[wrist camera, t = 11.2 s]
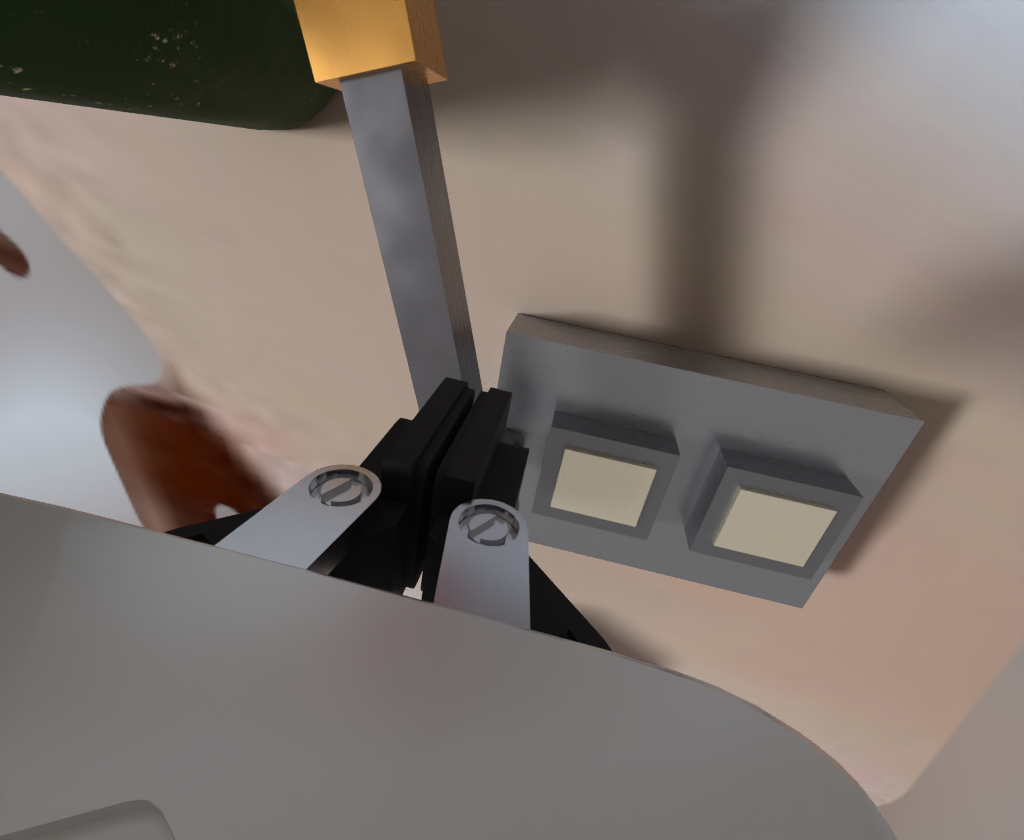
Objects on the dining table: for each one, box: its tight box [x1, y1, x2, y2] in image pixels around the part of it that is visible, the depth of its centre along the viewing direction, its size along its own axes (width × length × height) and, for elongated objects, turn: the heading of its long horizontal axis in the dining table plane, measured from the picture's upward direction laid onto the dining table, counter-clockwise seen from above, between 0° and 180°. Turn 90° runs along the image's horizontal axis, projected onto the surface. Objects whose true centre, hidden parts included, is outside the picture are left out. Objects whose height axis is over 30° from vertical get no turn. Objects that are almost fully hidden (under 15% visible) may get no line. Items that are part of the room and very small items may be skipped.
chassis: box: [497, 314, 925, 608], centre depth 28 cm, size 22×14×10 cm, turn 81°
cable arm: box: [294, 0, 519, 511], centre depth 19 cm, size 22×4×3 cm, turn 8°
